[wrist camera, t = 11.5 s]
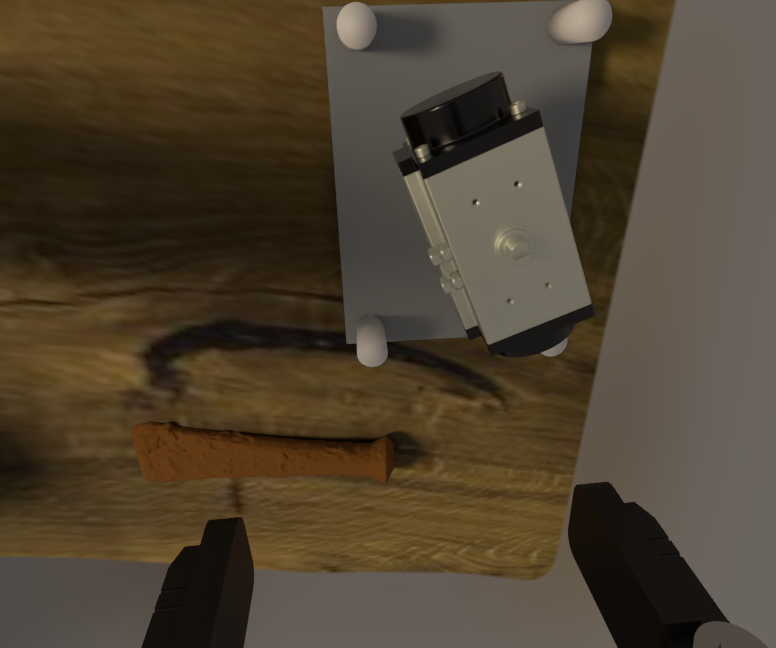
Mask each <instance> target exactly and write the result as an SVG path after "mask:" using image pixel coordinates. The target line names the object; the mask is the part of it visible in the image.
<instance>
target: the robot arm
mask: <svg viewBox="0 0 776 648" xmlns="http://www.w3.org/2000/svg"><path fill="white" fill-rule="evenodd" d="M568 538H569V544H570V548H571V551H572V554H573V557H574V559H575V561H576V563H577V565H578V567H579V569H580V571H581V573H582V575H583V577H584V579H585V581H586V584H587V586H588V587H589V590H590V592H591V594H592V596H593V598H594V600H595V602H596V604H597V606H598V608H599V610H600V612H601V614H602V616H603V619H604V621H605V622H606V625H607V627H608V629H609V631H610V633H611V635H612V637H613V639H614V641H615V643H616V645H617V647H618V648H768V647H767V646H766V645H765V644H764V643H763V642H762V641H761V640H759V639H758V638H757V637H756V636H754V635H753V634H751V633H750V632H748V631H746V630H745V629H743V628H741V627H739V626H737V625H734V624H731V623H730V622H729V621H728V620H727V619H726V617H725V616H724V615H723V613H722V612H721V611H720V609H719V608H718V606H717V605H716V603H715V602H714V601H713V599H712V598H711V596H710V595H709V594H708V592H707V591H706V589H705V588H704V587H703V585H702V584H701V582H700V581H699V579H698V578H697V577H696V575H695V574H694V572H693V571H692V570H691V568H690V567H689V566H688V564H687V563H686V561H685V560H684V558H683V557H680V554H679V551H678V550H677V549H676V547H675V546H674V544H673V543H672V541H669V539H668V536H667V534H666V533H665V532H664V530H663V529H662V527H661V526H660V525H659V523H658V522H657V520H656V519H655V518H654V517H653V516H652V515H650V514H649V513H648V512H647V511H645V510H644V509H643V508H642V507H640V506H639V505H638V504H636V503H635V502H631V503H624V502H623V501H622V499H621V498H620V496H619V495H618V493H617V492H616V490H615V489H614V487H613V486H612V485H611V484H610V483H609V482H600V483H590V484H580V485H576V486H575V488H574V492H573V500H572V507H571V513H570V520H569V526H568ZM253 584H254V567H253V560H252V555H251V551H250V547H249V542H248V538H247V534H246V529H245V525H244V521H243V519H242V517H237V518H227V519H216V520H209V521H208V522H207V524H206V527H205V530H204V533H203V537H202V540H201V544H200V545H197V546H187V547H184V548H183V550H182V551H181V552H180V553H179V555H178V556H177V557H176V559H175V560H174V561H173V562H172V564H171V565H170V566H169V568H168V571H167V574H166V577H165V580H164V583H163V586H162V589H161V594H160V595H159V598H158V600H157V603H156V606H155V613H153V615H152V618H151V621H150V624H149V627H148V630H147V633H146V636H145V639H144V642H143V645H142V648H243V647H244V642H245V635H246V629H247V623H248V617H249V611H250V605H251V598H252V593H253Z"/></svg>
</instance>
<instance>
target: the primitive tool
mask: <svg viewBox="0 0 776 648" xmlns="http://www.w3.org/2000/svg"><path fill="white" fill-rule="evenodd" d="M131 434H132V438H133V441H134V447H135V450H136V453H137V457H138V461H139V464H140V468H141V471H142V474H143V476H144V478H145V479H147V480H149V481H153V482H155V481H158V482H170V481H183V480H194V479H203V478H221V477H229V478H242V477H254V476H275V477H279V478H283V477H288V476H290V475H315V476H327V475H341V476H344V475H354V476H366V477H372V478H376V479H377V480H378V481H379V482H382V483H386V482H387V481H388V479H389V477H390V475H391V473H392V471H393V469H394V466H395V464H396V459H395V454H394V447H393V446H394V443H393V441H392V440H390V439H389V438H388V437H387V436H384V437H382V438H379V439H378V440H376V441H374V442H371V443H357V442H346V441H345V442H335V441H332V442H329V441H324V440H301V439H294V438H281V437H271V436H256V435H247V434H242V433H240V432H232V433H231V432H229V431H222V432H219V431H209V430H203V429H193V428H187V427H178V426H175V425H173V423H170V422H168V423H166V424H159V423H157V422H147V423H145V424H137V425H136V426H134V427H133V428H132V432H131Z"/></svg>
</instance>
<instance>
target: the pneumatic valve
mask: <svg viewBox="0 0 776 648" xmlns="http://www.w3.org/2000/svg"><path fill="white" fill-rule="evenodd" d="M400 120H401V123H402V125H403V128H404V130H405V133H406V136H407V137H406V138H405V141H406V142H405V143H403V148H401V149H399V150H396V151H394V152H392V154H393V156H394V159H395V161H396V164H397V166H398V169H399V171H400V174H401V176H402V178H403V181H404V183H405V186H406V188H407V191H408V193H409V196H410V198H411V201H412V203H413V206H414V208H415V210H416V213H417V215H418V218H419V220H420V223H421V225H422V228H423V230H424V233H425V235H426V238H427V240H428V242H429V245H430V247H431V248H429V249H428V250H427V251H428V254H429V256H430V258H431V261H432V263H433V266H434V267H437V266H438V267H439V270H440V272H441V274H442V277H440V278H439V280H440V283H441V285H442V288H443V290H444V292H445V295H446V294H450V297H451V299H452V302H453V304H454V306H455V309H456V311H457V314H458V316H459V318H460V321H461V323H462V325H463V327H464V329H465V332H466V334H467V336H468V338H469V340H472V339H474V338H477V337H479V336H482V337H483V339H484V341H485V343H486V345H487V347H488V349H489V351H490V353H491V355H492V356H493V355H496V354H499V355H502V356H506V357H525V356H531V355H535V354H539V353H542V352H544V351H547V350H549V349H551V348H553V347H555V346H556V345H558V344H560V343H561V342H562V341H563V340H565V339H566V338H567V337H568V336H569V335H570V333H571V332H572V330H573V328H574V325H575V323H577V322H579V321H582V320H585V319H587V318H590V317H592V316H594V315H595V313H594V310H593V306H592V302H591V299H590V295H589V291H588V287H587V284H586V280H585V276H584V273H583V269H582V265H581V262H580V258H579V254H578V251H577V247H576V243H575V240H574V236H573V232H572V228H571V225H570V221H569V217H568V214H567V210H566V206H565V203H564V199H563V195H562V192H561V188H560V184H559V181H558V177H557V173H556V169H555V166H554V162H553V158H552V155H551V151H550V147H549V144H548V140H547V136H546V133H545V129H544V125H543V122H542V118H541V114H540V110H539V109H534V108H529V107H526V106H525V102H524V101H523V100H522V101H518V102H516V103H513V104H512V102H511V99H510V95H509V92H508V89H507V85H506V82H505V78H504V74H503V72H501V71H496V72H491V73H488V74H485V75H482V76H479V77H476V78H473V79H471V80H468V81H466V82H463V83H461V84H459V85H456V86H454V87H452V88H449V89H447V90H445V91H443V92H440V93H438V94H436V95H434V96H432V97H430V98H428V99H426V100H424V101H422V102H420V103H418V104H417V105H415V106H413V107H411V108H410V109H408V110H407V111H405V112H404V113H403V114H402V115H401V116H400Z"/></svg>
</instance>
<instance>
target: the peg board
mask: <svg viewBox="0 0 776 648" xmlns="http://www.w3.org/2000/svg"><path fill="white" fill-rule="evenodd" d="M323 19H324V33H325V47H326V61H327V75H328V89H329V103H330V117H331V131H332V145H333V159H334V173H335V187H336V201H337V215H338V229H339V243H340V257H341V271H342V285H343V299H344V313H345V327H346V341H347V344H353V343H357V357H358V359H359V361H360V362H361V363H362V364H363V365H365V366H369V367H376V366H379V365H381V364H382V363H383V362H384V361H385V360H386V358H387V355H388V351H387V344H386V342H388V341H406V340H424V339H442V338H459V337H468V336H467V334H466V332H465V329H464V327H463V325H462V323H461V321H460V318H459V316H458V314H457V311H456V309H455V306H454V304H453V302H452V299H451V297H450V294H446V295H445V292H444V290H443V288H442V285H441V283H440V280H439V278H440V277H442V274H441V272H440V270H439V267H438V266H437V267H434V266H433V263H432V261H431V258H430V256H429V254H428V251H427V250H428V249H429V248H431V247H430V245H429V242H428V240H427V238H426V235H425V233H424V230H423V228H422V225H421V223H420V220H419V218H418V215H417V213H416V210H415V208H414V206H413V203H412V201H411V198H410V196H409V193H408V191H407V188H406V186H405V183H404V181H403V178H402V176H401V174H400V171H399V169H398V166H397V164H396V161H395V159H394V156H393V154H392V152H394V151H396V150H399V149H401V148H403V143H405V142H406V141H405V138H406V137H407V136H406V133H405V130H404V128H403V125H402V123H401V120H400V116H401V115H402V114H403V113H404V112H405V111H407V110H408V109H410V108H411V107H413V106H415V105H417V104H418V103H420V102H422V101H424V100H426V99H428V98H430V97H432V96H434V95H436V94H438V93H440V92H443V91H445V90H447V89H449V88H452V87H454V86H456V85H459V84H461V83H463V82H466V81H468V80H471V79H473V78H476V77H479V76H482V75H485V74H488V73H491V72H496V71H501V72H503V74H504V78H505V82H506V85H507V89H508V92H509V95H510V99H511V102H512V104H513V103H516V102H518V101H522V100H523V101H524V102H525V106H526V107H529V108H534V109H539V110H540V114H541V118H542V122H543V125H544V129H545V133H546V136H547V140H548V144H549V147H550V151H551V155H552V158H553V162H554V166H555V169H556V173H557V177H558V181H559V184H560V188H561V192H562V195H563V199H564V203H565V206H566V210H567V214H568V217H569V221H570V217H571V209H572V201H573V193H574V185H575V177H576V169H577V161H578V153H579V145H580V137H581V129H582V121H583V113H584V106H585V98H586V90H587V82H588V74H589V66H590V58H591V50H592V42H593V41H595V40H598V39H600V38H601V37H602V36H603V35H604V34H605V33H606V32H607V31H608V29H609V27H610V25H611V22H612V9H611V6H610V4H609V2H608V1H607V0H570V1H531V2H492V3H453V4H414V5H375V6H367V5H365V4H363V3H360V2H353V3H349V4H347V5H346V6H336V7H323ZM566 346H567V338H566V339H565V340H563V341H562V342H561V343H560V344H558V345H556V346H555V347H553V348H551V349H549V350H547V351H544V352H542V353H541V354H543V355H545V356H556V355H558V354H560V353H561V352H562V351H563V350H564V349H565V348H566Z"/></svg>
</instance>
